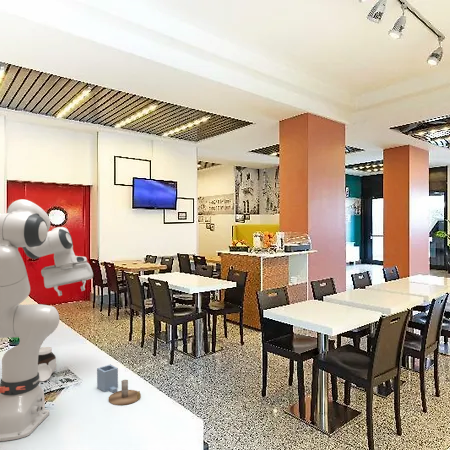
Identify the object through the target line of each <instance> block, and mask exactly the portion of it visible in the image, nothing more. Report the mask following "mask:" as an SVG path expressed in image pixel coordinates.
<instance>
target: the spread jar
mask: <svg viewBox="0 0 450 450" xmlns="http://www.w3.org/2000/svg"><path fill="white" fill-rule="evenodd" d="M52 349H53V348H52V347H49V346H43V347H42V346H41V347H40V350H39V355H38V373H39V377H40V379H39V382H46V381H48V380H49V379H50V378H51V376H53V374H54V373H55V372H56V369H57V357H56V354H55V353H53V352H52Z"/></svg>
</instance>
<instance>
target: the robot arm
mask: <svg viewBox="0 0 450 450" xmlns="http://www.w3.org/2000/svg"><path fill="white" fill-rule="evenodd" d="M50 229H51V219H50V217H49V215H48V213H47V212H46V211H45V210H44V209H43V208H42V207H41V206H39V205H38V204H36V203H35V202H33V201H31V200H28V199H22V198H21V199H17V200H15V201H12V202H11V204H10V205H9V206H8V207H7V211H6V212H4V213H3V212H0V339H3V338H4V339H6V338H18V339H19V343H18V344H16V345H15V346H14V347H12V348H10V349H8V350H7V351H6V352H4V354H3V356H2V359H1V378H0V442H6V441H13V440H18V439H22V438H26V437H28V436H29V435H31V434H32V433H33V432H34V431H35V430H36V428H38V427H39V425H40V424H41V423H42V422H43V421H44V420H45V419H46V418H47V417H48V416H49V415H50V410H49V409H46V406H45V405H46V404H45V391H44V389H43V388H41V386H40V381H39V379H40V377H39V373H38V355H39V350H40V348H41V347H42V345H43V344H44V341H45V340H47V338H48V337H49V336H50V335H52V334H53V333H54V332H55V331H56V330H57V328H58V326H59V324H60V315H59V311H58V310H57V308H56V307H55V306H54V305H53V306H52V305H47V304H41V303H38V304H35V303H34V304H21V303H22V302H24V301H25V300H26V299H27V298H28V297H29V295H30V293H31V284H30V281H29V277H28V276H29V275H28V272H27V269H26V268H27V267H26V265H25V262H24V259H23V257H22V255H21V253H20V251H19V248H22V250H23V251H24V253H25V256H26V257H28V258H30V259H32V260H36V259H40V258H42V257H45V256H48V255H53V260H54V264H53V265H49V266H44V267H43V268H42V269H41V271H40V274H41V276H42V277H43V284H44V287H45V289H51V288H53V289H54V291H56V293H57V296H58V297H61V296H63V292H62V290H60V289H58V288H59V286H64V285H70V284H75V283H79V282H81V283H82V285H81V286H80V289H81V292H83V291H85V290H86V288H85V286H86V283H87V281H88V280H91V279H93V278H94V272H93V269H92V267H91V266H92V265H90V263H89V262H88V259H87V257H86V256H80V255H79V256H78V255H76V254H75V252H74V245H73V244H74V243H73V238H72V235H71V233H70V232H69V229H68V228H67V227H65V226H57V227H55V228H52V229H51V230H50Z"/></svg>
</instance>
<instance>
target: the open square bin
mask: <svg viewBox="0 0 450 450" xmlns="http://www.w3.org/2000/svg"><path fill="white" fill-rule="evenodd" d="M118 372H119V369H118V367H116V366H114V365H112V364H107V365H104V366H100V367H98V368H97V369H96V382H97V383H96V387H97V389H99V390H100V391H101V392H103V393H106V392H110V393H111V394H113V393H115V392H118V388H119V373H118Z"/></svg>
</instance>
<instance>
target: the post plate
mask: <svg viewBox="0 0 450 450" xmlns="http://www.w3.org/2000/svg"><path fill="white" fill-rule="evenodd" d="M141 395H142V394H141V392H140V390H139V391H138V390H135V389H129V380H128V379H122V380H121V390H117V392H114V393H111V394H110V395H109V396H108V403H110V404H111V405H114V406H127V405H131V404H134V403H137V402H138V401H140V399H141Z"/></svg>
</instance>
